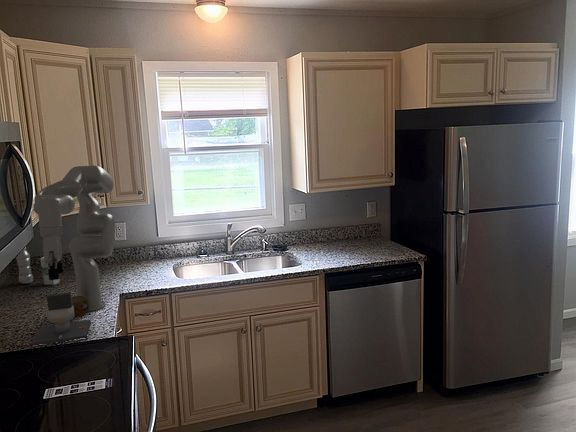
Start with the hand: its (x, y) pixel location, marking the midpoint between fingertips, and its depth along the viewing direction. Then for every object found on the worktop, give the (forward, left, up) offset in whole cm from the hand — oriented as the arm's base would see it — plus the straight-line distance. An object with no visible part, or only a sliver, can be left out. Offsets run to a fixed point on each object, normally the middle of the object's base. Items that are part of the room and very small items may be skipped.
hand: (56, 276), depth 182 cm
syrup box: (-77, -16, -23) cm, 82 cm away
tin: (-20, 0, -23) cm, 31 cm away
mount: (0, 0, -23) cm, 23 cm away
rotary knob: (+1, 0, -17) cm, 17 cm away
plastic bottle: (-83, -29, -23) cm, 91 cm away
